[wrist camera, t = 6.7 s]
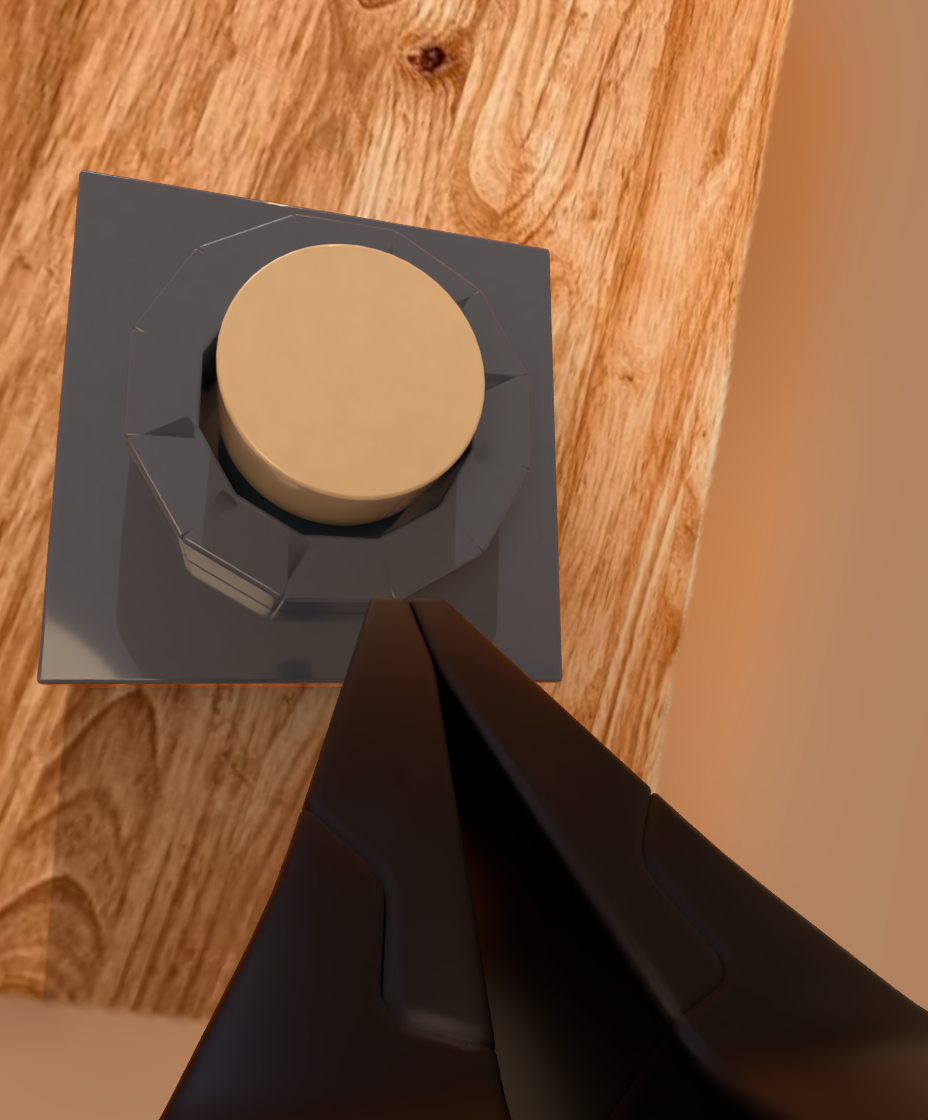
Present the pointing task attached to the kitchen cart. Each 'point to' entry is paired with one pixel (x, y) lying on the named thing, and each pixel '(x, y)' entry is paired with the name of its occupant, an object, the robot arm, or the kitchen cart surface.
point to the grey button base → (227, 497)
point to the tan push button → (346, 383)
